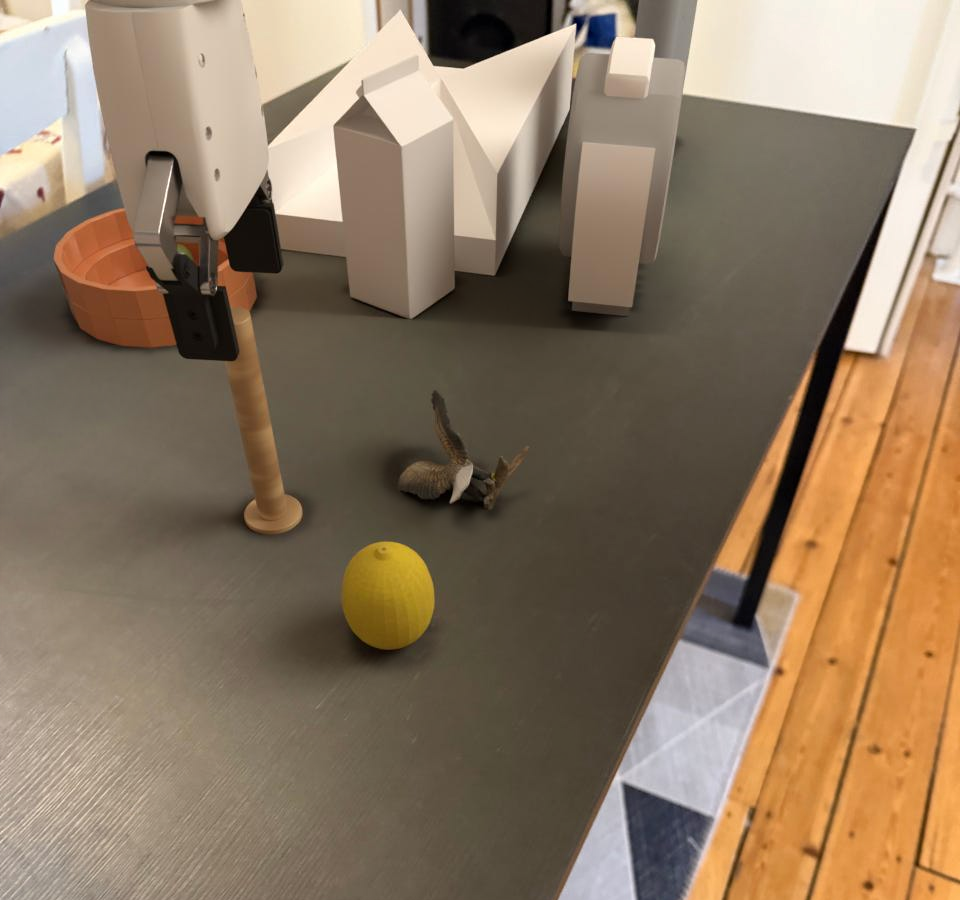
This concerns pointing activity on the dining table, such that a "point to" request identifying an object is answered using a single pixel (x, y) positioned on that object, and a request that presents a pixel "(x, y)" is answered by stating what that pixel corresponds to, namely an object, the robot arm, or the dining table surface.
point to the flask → (667, 27)
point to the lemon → (387, 595)
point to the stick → (258, 436)
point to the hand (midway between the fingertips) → (235, 311)
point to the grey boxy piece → (617, 170)
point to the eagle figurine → (455, 467)
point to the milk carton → (397, 191)
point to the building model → (476, 142)
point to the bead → (184, 251)
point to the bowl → (128, 282)
